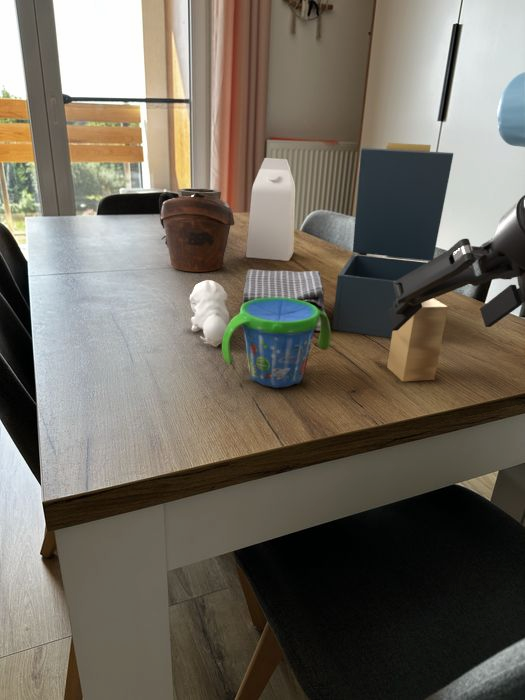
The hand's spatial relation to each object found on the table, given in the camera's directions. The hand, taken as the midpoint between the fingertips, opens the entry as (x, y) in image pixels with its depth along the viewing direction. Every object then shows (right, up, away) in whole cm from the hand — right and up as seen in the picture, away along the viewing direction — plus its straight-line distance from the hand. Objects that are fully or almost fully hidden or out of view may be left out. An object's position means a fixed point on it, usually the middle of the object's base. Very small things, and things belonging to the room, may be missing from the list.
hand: (439, 319), depth 67 cm
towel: (-19, +2, +30) cm, 36 cm away
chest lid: (+2, +23, +29) cm, 37 cm away
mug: (-47, +32, +98) cm, 113 cm away
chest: (0, +2, +31) cm, 31 cm away
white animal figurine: (-32, -2, +18) cm, 36 cm away
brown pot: (-40, +17, +63) cm, 77 cm away
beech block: (-2, -7, +8) cm, 11 cm away
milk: (-21, +23, +81) cm, 87 cm away
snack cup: (-21, -8, +5) cm, 23 cm away
